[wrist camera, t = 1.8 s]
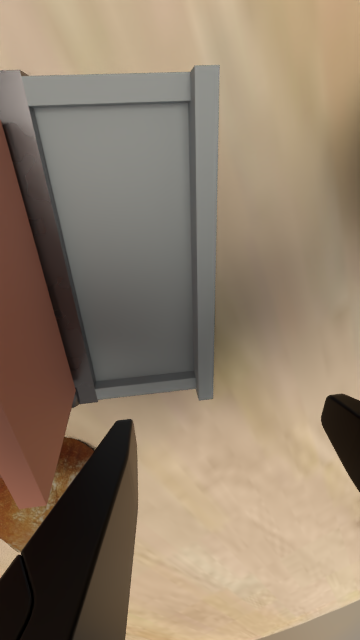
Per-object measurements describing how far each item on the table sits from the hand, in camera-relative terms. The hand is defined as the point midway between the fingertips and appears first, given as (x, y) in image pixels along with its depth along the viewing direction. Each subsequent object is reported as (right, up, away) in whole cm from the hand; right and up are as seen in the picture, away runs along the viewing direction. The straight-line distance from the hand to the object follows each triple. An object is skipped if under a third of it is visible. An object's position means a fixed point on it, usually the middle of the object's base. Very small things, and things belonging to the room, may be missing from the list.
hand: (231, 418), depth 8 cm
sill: (-9, +6, +11) cm, 15 cm away
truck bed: (-4, +6, +11) cm, 13 cm away
